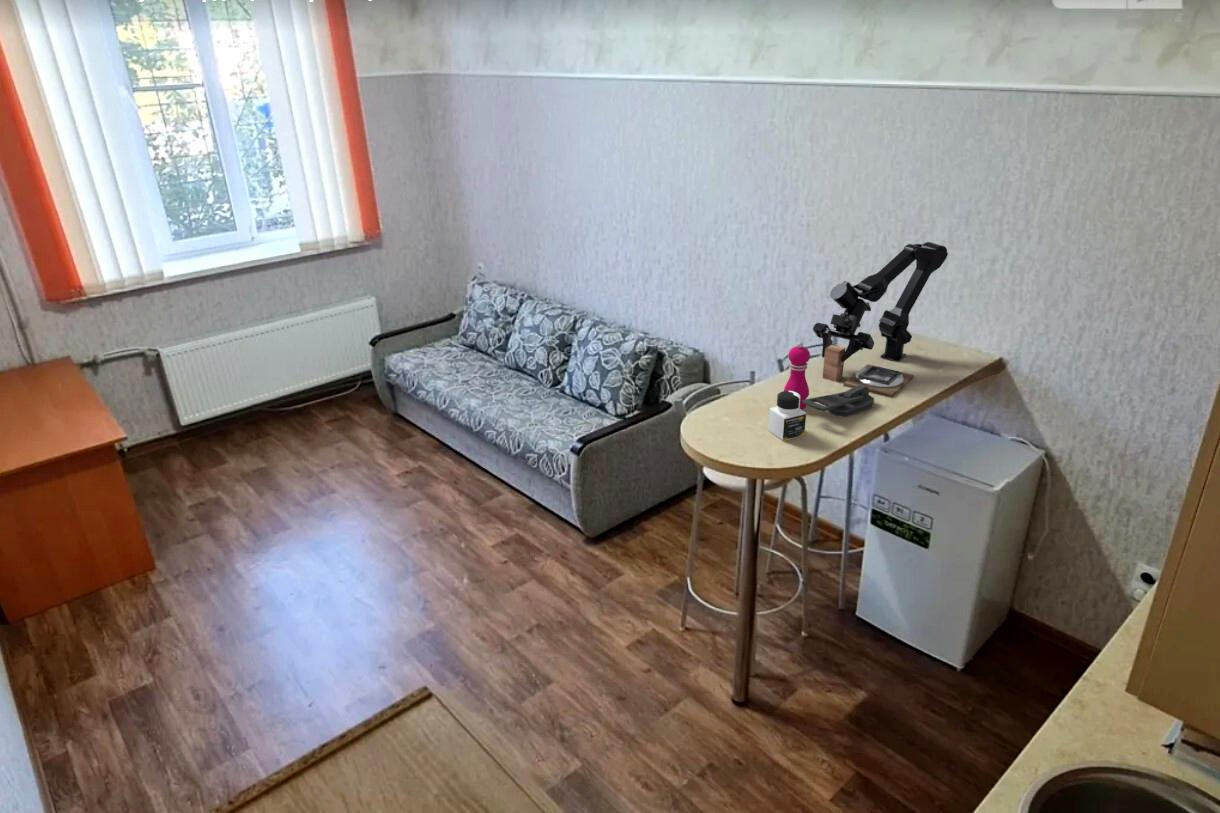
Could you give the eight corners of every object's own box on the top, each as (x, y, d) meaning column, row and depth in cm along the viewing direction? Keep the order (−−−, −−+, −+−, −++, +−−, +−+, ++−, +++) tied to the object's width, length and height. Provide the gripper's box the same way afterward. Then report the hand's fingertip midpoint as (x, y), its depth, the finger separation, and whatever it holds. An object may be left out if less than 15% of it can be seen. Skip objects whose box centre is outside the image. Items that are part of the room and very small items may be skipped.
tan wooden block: (829, 373, 247) (832, 344, 243) (842, 377, 245) (845, 347, 240) (822, 378, 244) (825, 348, 240) (835, 381, 242) (838, 351, 237)
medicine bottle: (782, 441, 208) (785, 401, 203) (767, 430, 214) (770, 391, 209) (804, 436, 210) (808, 396, 205) (789, 425, 216) (792, 386, 211)
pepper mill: (791, 398, 232) (796, 335, 223) (812, 405, 227) (818, 341, 218) (777, 406, 227) (782, 342, 219) (799, 413, 223) (804, 348, 214)
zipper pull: (798, 399, 216) (854, 375, 229) (797, 420, 219) (852, 395, 232) (824, 410, 210) (880, 384, 223) (822, 431, 213) (878, 405, 226)
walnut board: (867, 367, 251) (867, 364, 250) (913, 377, 242) (913, 374, 242) (843, 385, 238) (843, 382, 238) (891, 397, 230) (891, 394, 229)
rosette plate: (866, 366, 249) (867, 361, 248) (910, 376, 241) (910, 371, 240) (848, 381, 239) (848, 375, 238) (892, 392, 231) (893, 386, 230)
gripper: (817, 298, 243) (797, 341, 240) (874, 309, 231) (853, 354, 229) (828, 315, 251) (808, 356, 249) (883, 327, 240) (862, 370, 237)
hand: (832, 359), depth 241 cm, fingers open, 6 cm apart
